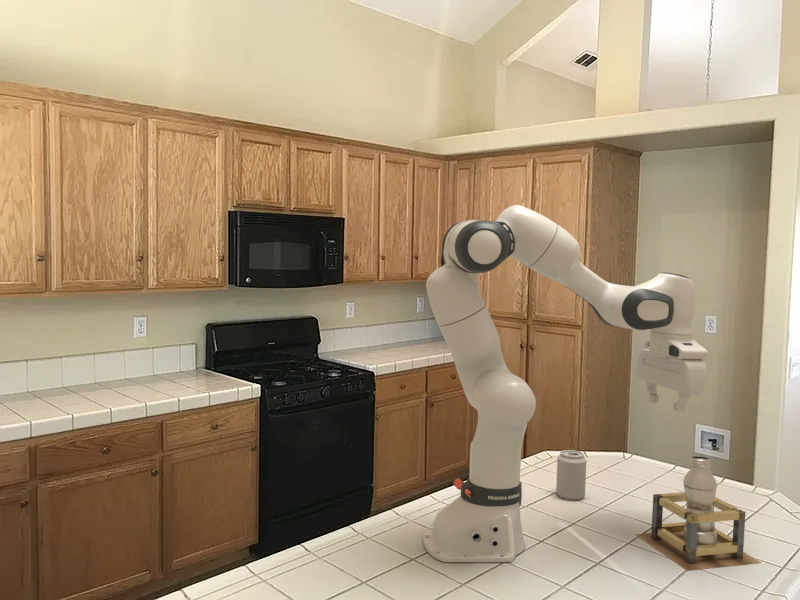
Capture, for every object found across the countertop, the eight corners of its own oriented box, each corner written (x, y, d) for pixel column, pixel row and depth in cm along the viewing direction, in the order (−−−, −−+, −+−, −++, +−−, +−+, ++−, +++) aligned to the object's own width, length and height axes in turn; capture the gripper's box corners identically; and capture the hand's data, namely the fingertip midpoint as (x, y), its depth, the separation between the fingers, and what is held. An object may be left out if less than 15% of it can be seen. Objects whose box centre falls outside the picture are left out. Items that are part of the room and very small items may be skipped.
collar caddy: (689, 564, 137) (692, 516, 137) (651, 537, 150) (653, 494, 149) (742, 558, 141) (745, 512, 140) (700, 533, 153) (703, 490, 152)
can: (588, 495, 180) (590, 451, 179) (579, 503, 174) (581, 458, 173) (561, 489, 184) (563, 446, 183) (552, 497, 178) (553, 453, 177)
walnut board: (686, 576, 134) (687, 570, 134) (634, 539, 152) (634, 534, 152) (761, 568, 139) (761, 562, 139) (702, 533, 156) (702, 528, 156)
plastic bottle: (721, 557, 140) (721, 462, 140) (687, 555, 141) (687, 460, 141) (712, 546, 146) (713, 455, 146) (679, 544, 147) (680, 453, 147)
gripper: (631, 339, 158) (627, 397, 159) (687, 352, 139) (682, 417, 139) (655, 340, 160) (650, 397, 161) (713, 352, 140) (708, 417, 141)
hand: (665, 406), depth 150 cm, fingers open, 8 cm apart
